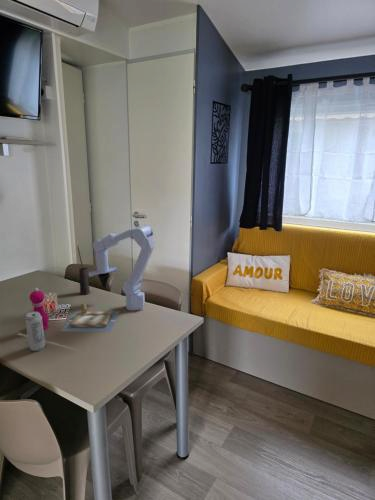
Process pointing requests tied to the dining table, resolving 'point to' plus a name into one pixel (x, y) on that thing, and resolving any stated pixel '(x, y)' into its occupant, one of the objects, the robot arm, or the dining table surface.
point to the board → (92, 329)
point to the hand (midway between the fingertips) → (104, 286)
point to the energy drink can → (35, 331)
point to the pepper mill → (39, 306)
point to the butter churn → (83, 279)
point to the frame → (90, 318)
